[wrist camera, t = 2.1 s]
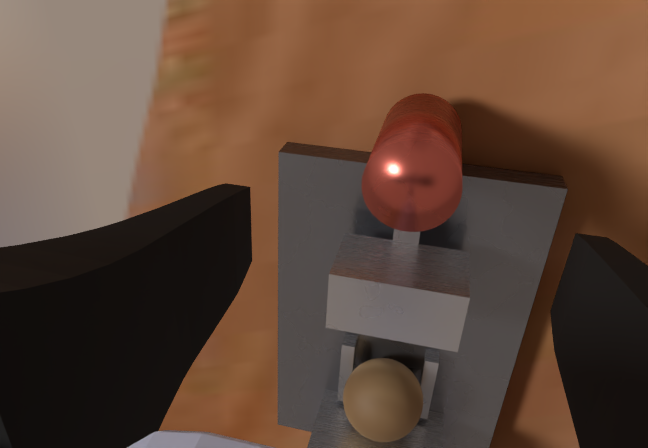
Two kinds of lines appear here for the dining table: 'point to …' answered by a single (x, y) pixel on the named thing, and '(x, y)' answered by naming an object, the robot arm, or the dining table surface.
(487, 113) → the dining table surface
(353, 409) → the nut
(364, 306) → the ram handle
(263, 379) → the dining table surface
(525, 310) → the bench
